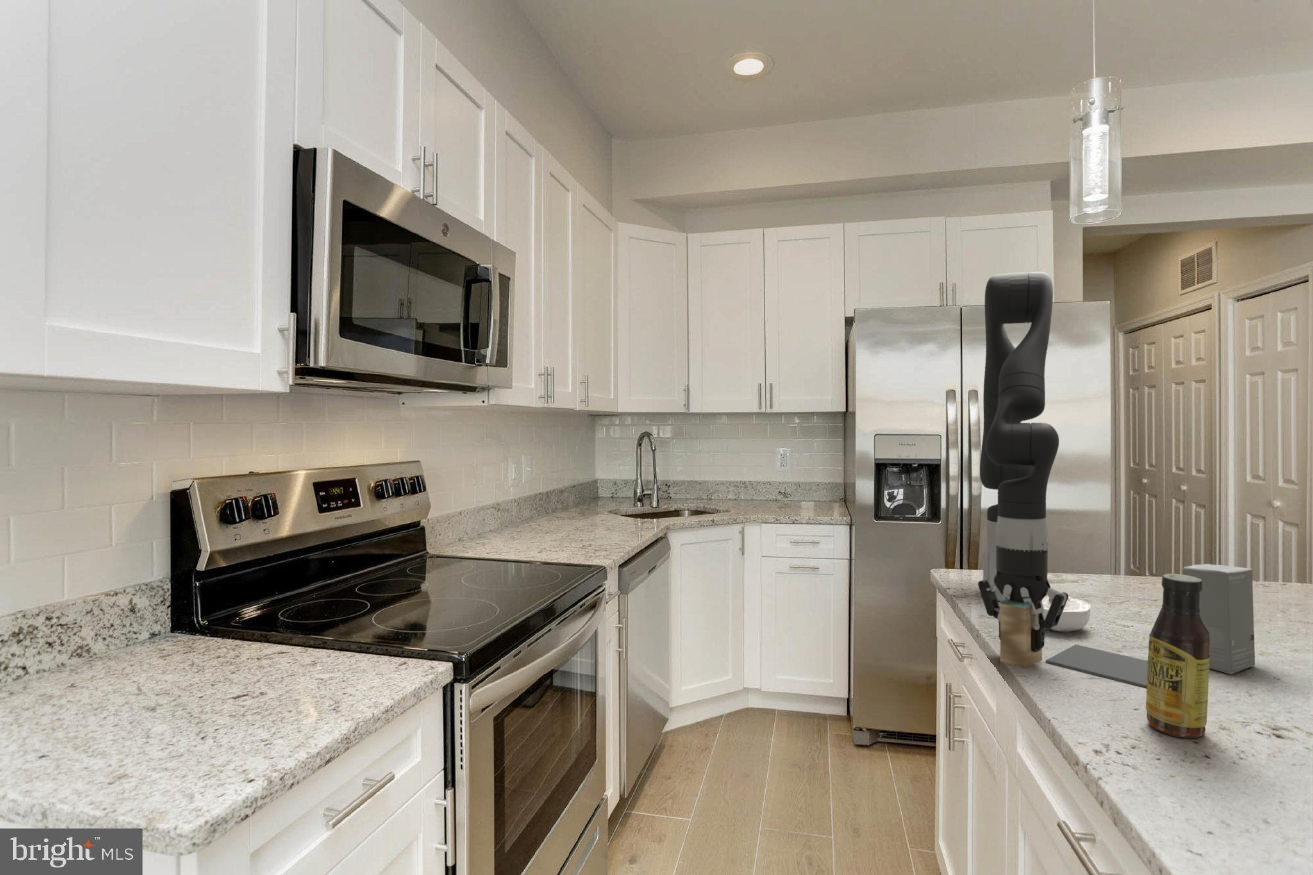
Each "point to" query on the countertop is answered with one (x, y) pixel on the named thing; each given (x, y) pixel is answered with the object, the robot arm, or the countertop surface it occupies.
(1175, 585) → the sauce bottle
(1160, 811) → the countertop surface
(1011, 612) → the block
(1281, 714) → the countertop surface
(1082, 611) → the cell model
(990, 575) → the robot arm
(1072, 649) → the mat
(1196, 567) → the skincare box
